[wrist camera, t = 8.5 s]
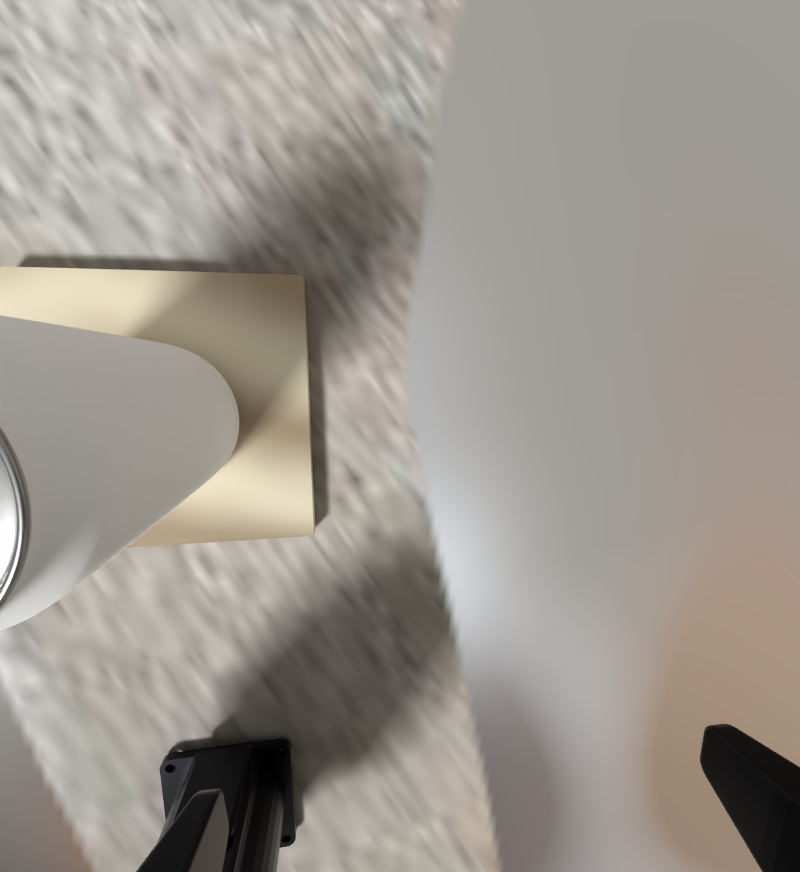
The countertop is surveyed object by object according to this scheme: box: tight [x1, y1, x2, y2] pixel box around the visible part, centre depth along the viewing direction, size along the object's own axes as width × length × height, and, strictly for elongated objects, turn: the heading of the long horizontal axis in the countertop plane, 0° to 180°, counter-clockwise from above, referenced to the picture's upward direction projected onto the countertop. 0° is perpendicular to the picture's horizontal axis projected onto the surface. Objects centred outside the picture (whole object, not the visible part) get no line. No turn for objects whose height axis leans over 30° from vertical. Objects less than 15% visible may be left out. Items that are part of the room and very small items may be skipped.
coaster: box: [0, 266, 315, 548], centre depth 18 cm, size 12×12×1 cm
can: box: [0, 315, 239, 631], centre depth 12 cm, size 6×6×12 cm
